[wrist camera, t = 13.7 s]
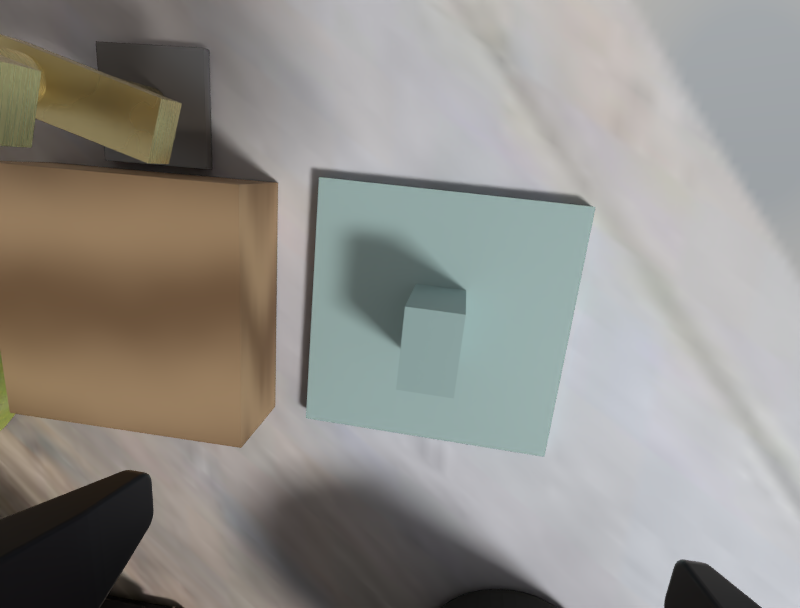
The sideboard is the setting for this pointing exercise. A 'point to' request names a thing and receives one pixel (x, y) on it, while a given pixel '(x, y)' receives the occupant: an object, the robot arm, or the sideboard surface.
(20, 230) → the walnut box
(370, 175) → the sideboard surface
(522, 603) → the pen holder
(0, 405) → the plant pot
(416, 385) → the lid
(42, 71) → the key
